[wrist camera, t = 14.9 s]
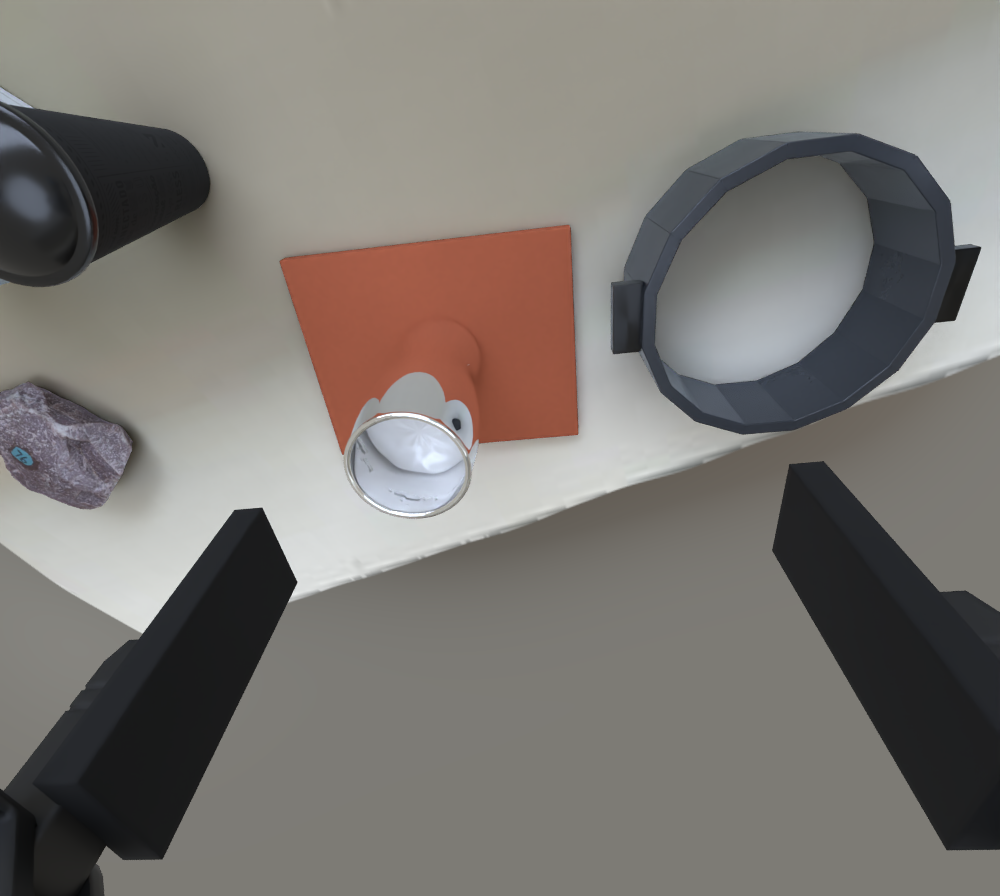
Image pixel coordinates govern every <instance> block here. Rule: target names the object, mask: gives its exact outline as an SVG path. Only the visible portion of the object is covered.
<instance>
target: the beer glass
mask: <svg viewBox="0 0 1000 896" xmlns="http://www.w3.org/2000/svg"><path fill="white" fill-rule="evenodd" d="M480 368H481V351H480V348H479V345H478V343H477V341H476V339H475V338H474V336H473V335H472V334H471V333H470V332H469V331H468V330H467V329H466V328H465V327H463V326H462V325H460V324H459V323H456V322H454V321H451V320H447V319H430V320H426V321H423V322H421V323H419V324H417V325H416V326H414V327H413V328H412V329H411V330H410V331H409V332H408V333H407V335H406V336H405V338H404V340H403V343H402V346H401V351H400V360H399V361H398V362H396V363H395V364H394V365H393V366H392V367H391V368H390V369H388V370H387V371H386V372H385V373H384V374H383V375H382V377H381V378H380V379H379V380H378V381H377V382H376V383H375V384H374V386H373V387H372V389H371V390H370V392H369V394H368V395H367V397H366V399H365V400H364V402H363V404H362V407H361V409H360V411H359V413H358V416H357V418H356V421H355V424H354V427H353V430H352V433H351V436H350V438H349V440H348V442H347V445H346V447H345V451H344V469H345V473H346V476H347V478H348V481H349V483H350V484H351V486H352V488H353V489H354V490H355V492H356V493H357V494H358V495H359V496H360V497H361V498H362V499H363V500H364V501H365V502H367V503H368V504H369V505H371V506H372V507H374V508H376V509H377V510H379V511H381V512H384V513H386V514H389V515H392V516H396V517H401V518H409V519H419V518H427V517H432V516H436V515H438V514H441V513H443V512H445V511H447V510H449V509H451V508H452V507H453V506H455V505H456V504H457V503H458V502H459V501H460V500H461V499H462V498H463V496H464V495H465V493H466V491H467V489H468V487H469V485H470V481H471V475H472V470H473V466H474V463H475V459H476V454H477V450H478V444H479V437H480V410H479V403H478V398H477V394H476V390H475V386H474V381H475V380H476V378H477V376H478V374H479V371H480Z"/></svg>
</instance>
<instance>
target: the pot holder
mask: <svg viewBox="0 0 1000 896" xmlns="http://www.w3.org/2000/svg"><path fill="white" fill-rule="evenodd" d="M280 264H281V268H282V271H283V274H284V277H285V280H286V283H287V286H288V289H289V292H290V295H291V298H292V301H293V305H294V308H295V311H296V314H297V317H298V320H299V323H300V326H301V329H302V332H303V335H304V338H305V341H306V345H307V348H308V351H309V354H310V357H311V360H312V363H313V366H314V369H315V372H316V375H317V378H318V382H319V385H320V388H321V391H322V394H323V397H324V400H325V403H326V406H327V409H328V412H329V415H330V419H331V422H332V425H333V428H334V431H335V434H336V437H337V440H338V443H339V446H340V449H341V452H342V455H344V451H345V447H346V445H347V442H348V440H349V438H350V436H351V433H352V430H353V427H354V424H355V421H356V418H357V416H358V413H359V411H360V409H361V407H362V404H363V402H364V400H365V399H366V397H367V395H368V394H369V392H370V390H371V389H372V387H373V386H374V384H375V383H376V382H377V381H378V380H379V379H380V378H381V377H382V375H383V374H384V373H385V372H386V371H387V370H388V369H390V368H391V367H392V366H393V365H394V364H395V363H396V362H398V361H399V360H400V351H401V346H402V343H403V340H404V338H405V336H406V335H407V333H408V332H409V331H410V330H411V329H412V328H413V327H414V326H416V325H417V324H419V323H421V322H423V321H426V320H430V319H447V320H451V321H454V322H456V323H459V324H460V325H462V326H463V327H465V328H466V329H467V330H468V331H469V332H470V333H471V334H472V335H473V336H474V338H475V339H476V341H477V343H478V345H479V348H480V351H481V368H480V371H479V374H478V376H477V378H476V380H475V381H474V386H475V390H476V394H477V398H478V403H479V410H480V437H479V443H488V442H499V441H511V440H523V439H534V438H546V437H558V436H569V435H578V412H577V385H576V359H575V332H574V306H573V279H572V253H571V228H570V226H569V225H563V226H555V227H546V228H537V229H529V230H520V231H512V232H503V233H495V234H486V235H477V236H469V237H460V238H452V239H443V240H434V241H426V242H417V243H409V244H400V245H392V246H383V247H374V248H366V249H357V250H349V251H340V252H332V253H323V254H314V255H306V256H297V257H289V258H284V259H282V260H281V261H280Z"/></svg>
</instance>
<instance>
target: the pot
mask: <svg viewBox="0 0 1000 896" xmlns="http://www.w3.org/2000/svg"><path fill="white" fill-rule="evenodd" d="M810 156H821V157H824V158H827V159H830V160H832V161H835V162H838V163H839V164H840V165H841V166H842V167H843V168H844V170H845V171H846V172H847V173H848V175H849V176H850V177H851V178H852V180H853V181H854V182H855V183H856V185H857V186H858V187H859V188H860V190H861V191H862V192H863V193H864V195H865V196H866V197H867V200H868V206H869V212H870V218H871V224H872V230H873V236H874V242H875V243H874V247H873V251H872V255H871V259H870V263H869V266H868V270H867V274H866V278H865V282H864V286H863V290H862V291H861V293H860V294H859V296H858V297H857V299H856V301H855V302H854V304H853V305H852V307H851V308H850V310H849V311H848V313H847V314H846V316H845V317H844V319H843V320H842V322H841V323H840V325H839V326H838V328H837V329H836V331H835V332H834V333H833V334H832V335H831V336H830V337H828V338H827V339H826V340H825V341H824V342H822V343H821V344H820V345H819V346H818V347H816V348H815V349H814V350H813V351H812V352H810V353H809V354H808V355H807V356H806V357H804V358H803V359H802V360H801V361H800V362H799V363H797V364H794V365H792V366H790V367H787V368H785V369H783V370H780V371H778V372H776V373H773V374H771V375H769V376H766V377H764V378H762V379H760V380H757V381H749V382H738V383H727V384H716V385H714V384H710V383H707V382H703V381H700V380H696V379H693V378H689V377H686V376H683V375H679V374H677V373H676V372H675V371H674V370H673V369H671V368H670V367H669V366H668V365H667V364H666V363H665V362H663V361H662V360H661V359H660V357H659V354H658V352H657V349H656V347H655V327H656V306H657V294H658V291H659V289H660V287H661V285H662V283H663V280H664V278H665V276H666V274H667V271H668V269H669V267H670V265H671V263H672V260H673V258H674V256H675V254H676V251H677V249H678V247H679V245H680V242H681V240H682V239H683V238H684V237H685V236H686V235H687V234H688V233H689V232H690V231H691V230H692V228H693V227H694V226H695V225H696V224H697V223H698V222H699V221H700V220H701V219H702V218H703V217H704V216H705V215H706V213H707V212H708V211H709V210H710V209H711V208H712V207H713V206H714V205H715V204H716V203H717V202H718V201H719V200H720V198H721V197H722V196H723V195H724V194H725V193H726V192H727V191H729V190H731V189H733V188H735V187H737V186H738V185H740V184H742V183H744V182H746V181H748V180H750V179H751V178H753V177H755V176H757V175H759V174H761V173H763V172H764V171H766V170H768V169H770V168H772V167H774V166H776V165H778V164H779V163H781V162H783V161H785V160H787V159H794V158H802V157H810ZM980 250H981V247H979V246H975V245H972V244H968V245H958V246H955V245H954V233H953V222H952V211H951V203H950V200H949V199H948V197H947V196H946V194H945V193H944V192H943V190H942V189H941V188H940V186H939V185H938V184H937V182H936V181H935V179H934V178H933V177H932V175H931V174H930V173H929V171H928V170H927V169H926V167H925V166H924V165H923V163H922V162H921V160H920V159H919V158H918V156H916V155H915V154H912V153H910V152H907V151H904V150H902V149H899V148H896V147H893V146H891V145H888V144H885V143H883V142H880V141H877V140H875V139H872V138H869V137H867V136H864V135H861V134H857V133H826V132H792V133H784V134H776V135H768V136H760V137H752V138H744V139H741V140H738V141H736V142H734V143H733V144H731V145H729V146H727V147H726V148H724V149H722V150H720V151H718V152H717V153H715V154H713V155H711V156H710V157H708V158H706V159H704V160H702V161H701V162H699V163H697V164H695V165H694V166H692V167H690V168H688V169H687V170H686V171H684V173H683V174H682V175H681V176H680V177H679V178H678V179H677V181H676V182H675V183H674V184H673V185H672V186H671V187H670V189H669V190H668V191H667V192H666V193H665V194H664V195H663V197H662V198H661V199H660V200H659V201H658V202H657V203H656V205H655V206H654V207H653V208H652V209H651V210H650V211H649V213H648V214H647V215H646V217H645V218H644V220H643V223H642V225H641V228H640V230H639V233H638V235H637V238H636V240H635V243H634V245H633V248H632V250H631V253H630V255H629V257H628V260H627V262H626V265H625V269H624V281H621V282H612V283H611V350H612V352H613V354H620V353H630V352H639V354H640V356H641V358H642V359H643V361H644V363H645V365H646V367H647V369H648V370H649V372H650V374H651V376H652V378H653V379H654V381H655V383H656V385H657V387H658V388H659V390H660V392H661V393H662V394H663V395H664V396H665V397H667V398H668V399H669V400H670V401H671V402H673V403H674V404H675V405H676V406H677V407H679V408H680V409H681V410H682V411H683V412H685V413H686V414H687V415H688V416H689V417H690V418H692V419H693V420H694V421H696V422H699V423H702V424H706V425H710V426H713V427H717V428H720V429H724V430H728V431H731V432H735V433H739V434H755V433H767V432H779V431H791V430H796V429H798V428H801V427H803V426H806V425H808V424H811V423H813V422H816V421H818V420H821V419H823V418H826V417H828V416H831V415H833V414H836V413H838V412H841V411H843V410H846V409H847V408H849V407H851V406H852V405H853V404H855V403H856V402H857V401H858V400H860V399H861V398H862V397H864V396H865V395H866V394H868V393H869V392H870V391H872V390H873V389H874V388H876V387H877V386H878V385H880V384H881V383H882V382H884V381H885V380H886V379H888V378H889V377H890V376H892V375H893V374H894V373H895V372H896V371H898V370H899V369H900V367H901V366H902V365H903V363H904V362H905V361H906V359H907V358H908V357H909V355H910V354H911V353H912V351H913V350H914V349H915V348H916V346H917V345H918V344H919V342H920V341H921V340H922V338H923V337H924V336H925V334H926V333H927V332H928V330H929V329H930V328H931V326H932V325H933V324H934V323H936V322H947V321H955V320H956V317H957V314H958V312H959V309H960V306H961V303H962V300H963V298H964V295H965V292H966V289H967V287H968V284H969V281H970V278H971V275H972V273H973V270H974V267H975V264H976V261H977V259H978V256H979V253H980Z"/></svg>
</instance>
